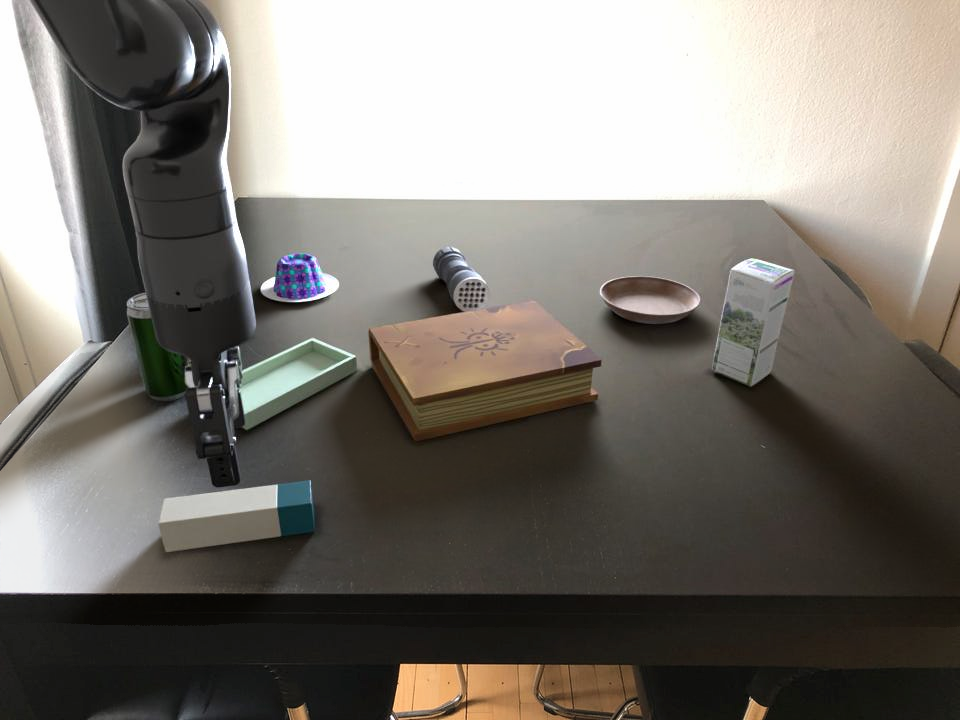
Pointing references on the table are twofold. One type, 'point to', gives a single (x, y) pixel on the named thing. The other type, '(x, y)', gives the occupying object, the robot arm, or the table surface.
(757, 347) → the syrup box
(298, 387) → the pen tray
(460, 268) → the flashlight
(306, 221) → the table surface
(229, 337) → the robot arm
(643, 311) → the saucer
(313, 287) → the pudding
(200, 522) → the marker
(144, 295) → the beer can
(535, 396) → the diary
